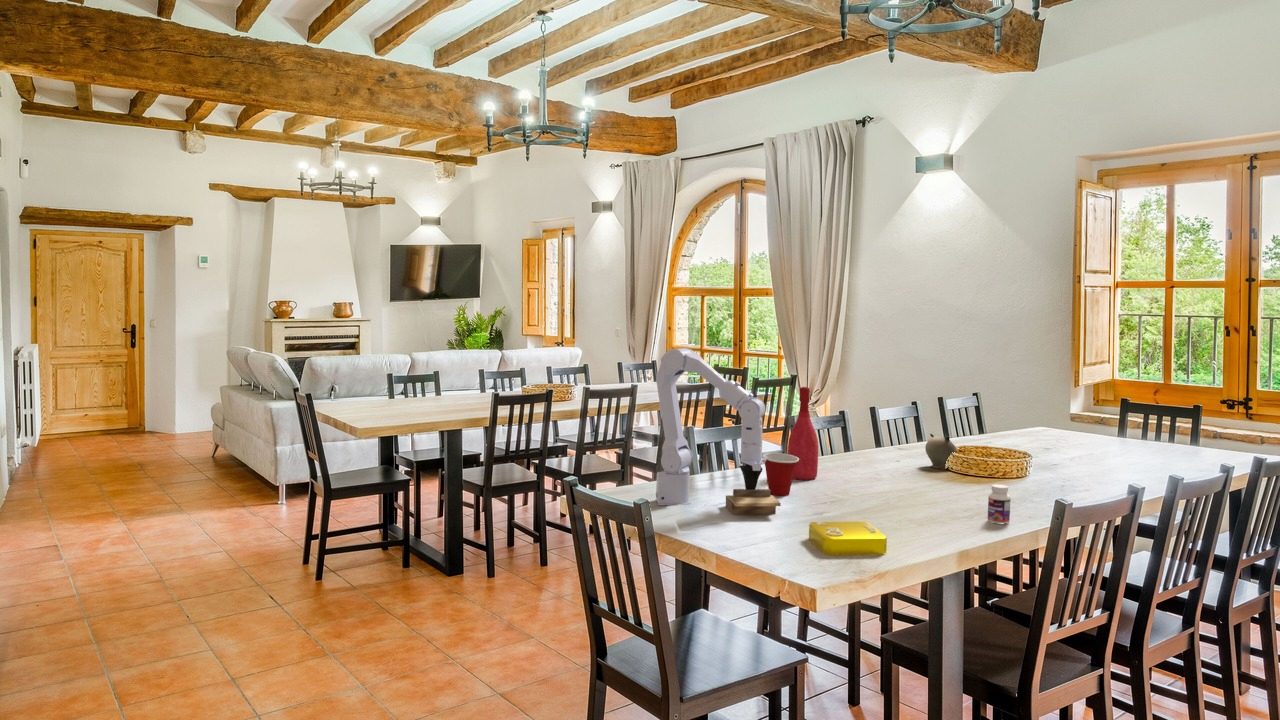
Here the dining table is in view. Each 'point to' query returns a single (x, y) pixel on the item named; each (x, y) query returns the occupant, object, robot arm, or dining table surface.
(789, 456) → the plastic cup
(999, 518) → the pill bottle
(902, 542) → the dining table surface
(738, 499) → the lid
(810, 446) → the wine bottle
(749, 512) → the walnut box
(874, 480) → the dining table surface
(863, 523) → the element tile
